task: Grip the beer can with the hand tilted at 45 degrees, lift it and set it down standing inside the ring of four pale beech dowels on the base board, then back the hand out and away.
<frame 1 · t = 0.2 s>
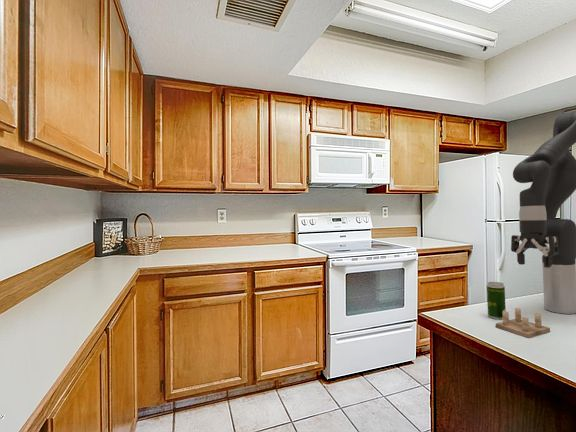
hand: (534, 265, 109), 18 cm above the counter, tool pointing down, fingers open, 8 cm apart
beer can: (496, 317, 111), on the counter
dowel holder: (522, 329, 100), on the counter
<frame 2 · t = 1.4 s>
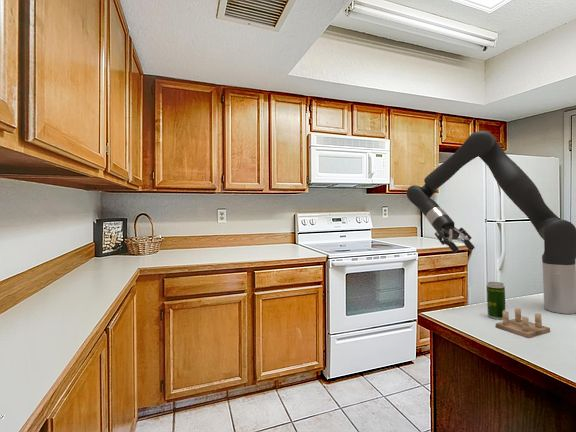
hand: (464, 250, 122), 23 cm above the counter, tool tilted 45°, fingers open, 8 cm apart
nothing on the counter moved.
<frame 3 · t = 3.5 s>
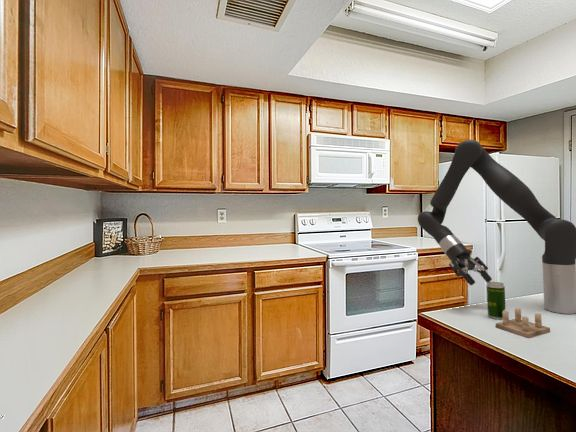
hand: (481, 282, 116), 11 cm above the counter, tool tilted 45°, fingers open, 8 cm apart
nothing on the counter moved.
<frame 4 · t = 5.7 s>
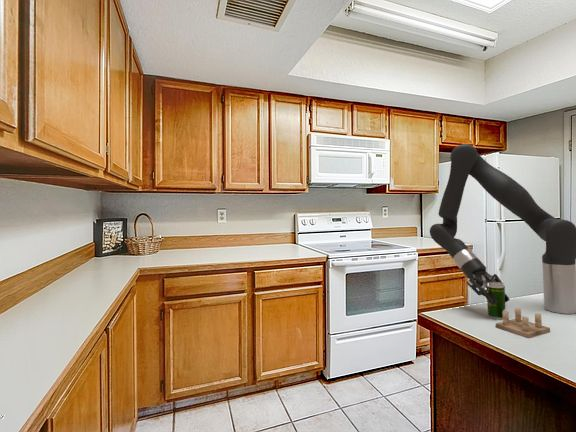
hand: (501, 302, 110), 6 cm above the counter, tool tilted 45°, fingers closed on beer can, 5 cm apart
beer can: (496, 317, 111), on the counter, touching gripper
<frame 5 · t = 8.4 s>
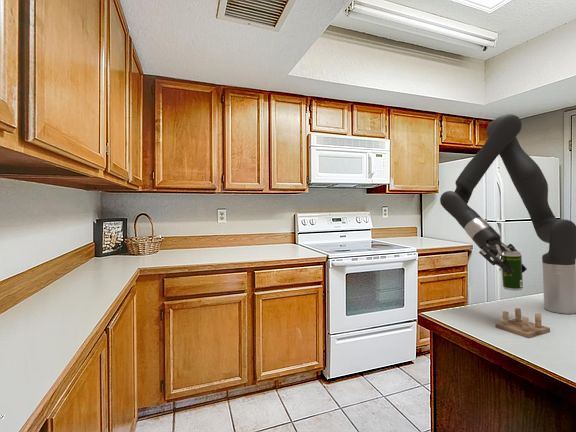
hand: (517, 272, 101), 18 cm above the counter, tool tilted 45°, fingers closed on beer can, 5 cm apart
beer can: (512, 289, 103), point 12 cm above the counter, touching gripper
when the fingers open (8 cm above the counter, at t = 11.0 s): beer can drops 1 cm, resting on dowel holder.
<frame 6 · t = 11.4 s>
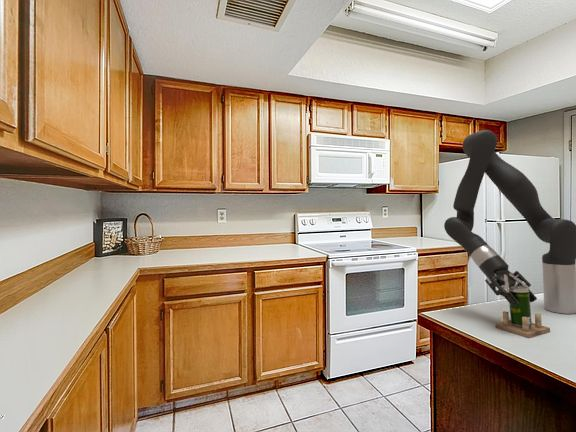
hand: (525, 302, 98), 9 cm above the counter, tool tilted 45°, fingers open, 8 cm apart
beer can: (521, 325, 100), point 1 cm above the counter, touching dowel holder
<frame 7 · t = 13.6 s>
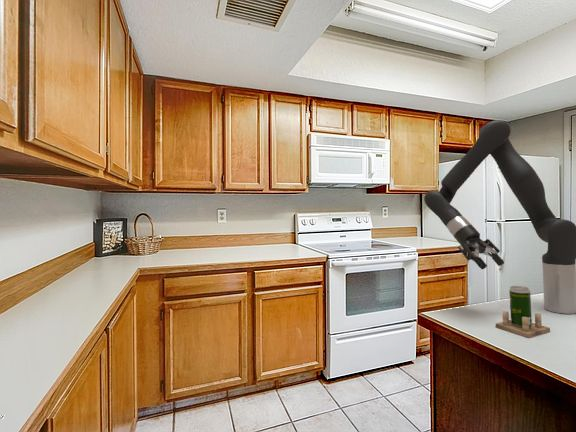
hand: (493, 266, 108), 19 cm above the counter, tool tilted 45°, fingers open, 8 cm apart
nothing on the counter moved.
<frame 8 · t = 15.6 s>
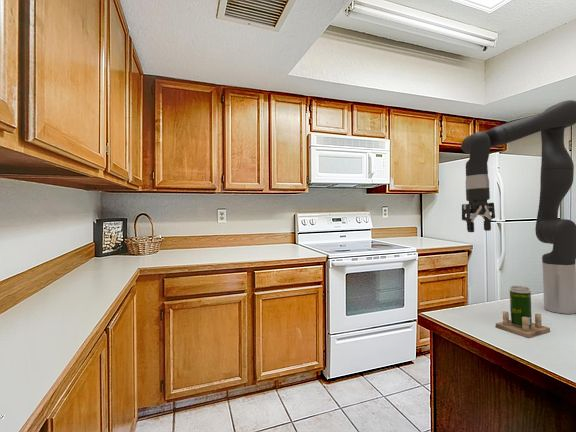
hand: (479, 231, 117), 30 cm above the counter, tool pointing down, fingers open, 8 cm apart
nothing on the counter moved.
at the end: beer can 0.2 cm off-centre on the dowel holder, point 1.0 cm above the dowel holder's base; beer can tilted 0°; the gripper is holding nothing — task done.
